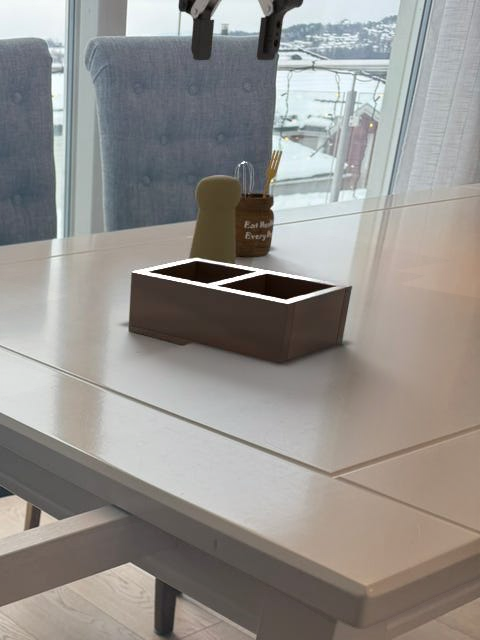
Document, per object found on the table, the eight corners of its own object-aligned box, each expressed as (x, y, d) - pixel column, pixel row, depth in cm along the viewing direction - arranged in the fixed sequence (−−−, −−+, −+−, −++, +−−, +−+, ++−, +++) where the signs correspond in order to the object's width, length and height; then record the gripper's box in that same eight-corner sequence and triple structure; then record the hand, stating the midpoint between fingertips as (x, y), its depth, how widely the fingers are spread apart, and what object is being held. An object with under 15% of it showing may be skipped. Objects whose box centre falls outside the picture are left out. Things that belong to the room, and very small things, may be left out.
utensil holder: (214, 252, 125) (224, 151, 119) (251, 247, 127) (262, 148, 121) (244, 259, 121) (256, 155, 114) (281, 253, 123) (294, 152, 117)
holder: (190, 314, 98) (195, 257, 95) (341, 349, 86) (352, 285, 83) (128, 330, 93) (131, 271, 90) (278, 370, 81) (288, 303, 78)
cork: (174, 277, 112) (182, 176, 106) (205, 269, 116) (214, 171, 110) (215, 285, 109) (225, 180, 103) (246, 276, 112) (257, 175, 106)
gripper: (338, -143, 88) (310, 59, 97) (219, -124, 97) (203, 59, 106) (290, -150, 84) (265, 61, 93) (171, -130, 93) (158, 61, 102)
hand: (232, 60), depth 99 cm, fingers open, 8 cm apart
